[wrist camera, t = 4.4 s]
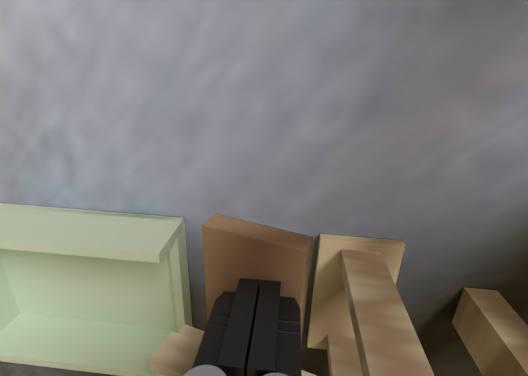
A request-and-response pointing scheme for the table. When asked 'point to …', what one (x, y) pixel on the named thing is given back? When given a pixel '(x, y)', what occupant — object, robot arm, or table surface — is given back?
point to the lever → (231, 270)
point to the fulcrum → (399, 316)
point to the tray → (90, 287)
